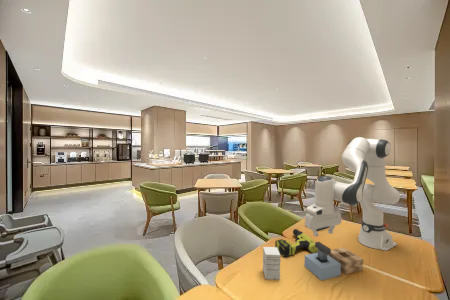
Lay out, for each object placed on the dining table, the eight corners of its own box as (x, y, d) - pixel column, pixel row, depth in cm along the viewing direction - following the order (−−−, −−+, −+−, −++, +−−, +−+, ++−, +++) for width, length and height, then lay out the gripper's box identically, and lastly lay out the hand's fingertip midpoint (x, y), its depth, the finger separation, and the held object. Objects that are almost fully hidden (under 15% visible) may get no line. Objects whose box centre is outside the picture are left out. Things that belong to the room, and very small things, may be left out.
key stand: (343, 257, 121) (343, 247, 120) (362, 269, 109) (363, 258, 109) (326, 261, 117) (326, 250, 117) (344, 274, 106) (345, 262, 105)
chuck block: (322, 262, 116) (322, 251, 116) (340, 275, 105) (340, 264, 104) (304, 266, 112) (304, 255, 112) (321, 280, 101) (321, 268, 101)
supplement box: (262, 270, 109) (262, 246, 108) (276, 270, 108) (277, 246, 108) (264, 279, 101) (265, 254, 100) (280, 280, 101) (280, 254, 100)
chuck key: (313, 266, 112) (314, 242, 111) (318, 265, 113) (319, 241, 112) (325, 276, 104) (326, 250, 103) (330, 274, 105) (331, 248, 104)
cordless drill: (265, 237, 144) (297, 234, 149) (282, 259, 119) (321, 254, 125) (265, 227, 143) (298, 225, 149) (283, 247, 119) (321, 243, 124)
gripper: (334, 204, 113) (334, 229, 114) (303, 208, 107) (302, 234, 107) (344, 208, 107) (343, 234, 108) (312, 212, 101) (311, 240, 101)
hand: (323, 234), depth 108 cm, fingers open, 8 cm apart
